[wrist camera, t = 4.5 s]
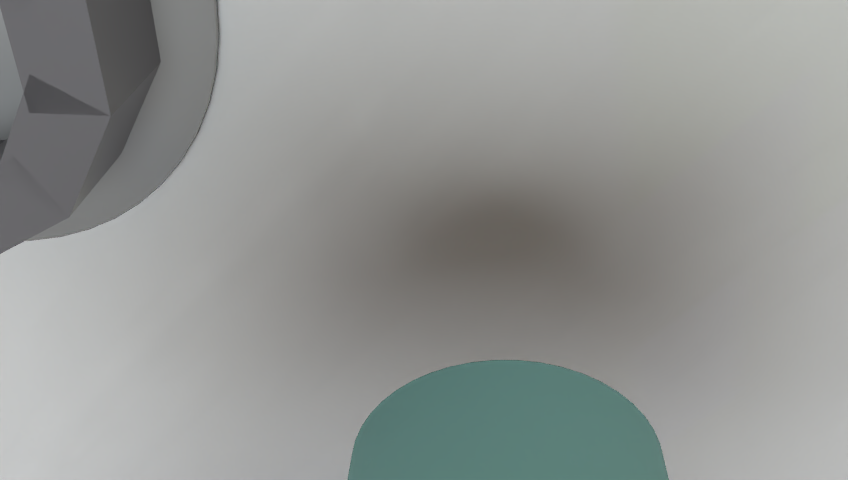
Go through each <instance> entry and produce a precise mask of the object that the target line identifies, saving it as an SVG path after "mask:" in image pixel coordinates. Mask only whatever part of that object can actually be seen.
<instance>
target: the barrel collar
mask: <svg viewBox="0 0 848 480" xmlns="http://www.w3.org/2000/svg"><path fill="white" fill-rule="evenodd" d="M218 41H219V30H218V14H217V0H0V254H1V253H2V252H4V251H6V250H8V249H10V248H12V247H14V246H16V245H18V244H20V243H22V242H23V241H32V240H40V239H47V238H55V237H62V236H66V235H70V234H73V233H77V232H81V231H85V230H89V229H91V228H94V227H96V226H98V225H101V224H103V223H105V222H108V221H110V220H113V219H115V218H117V217H118V216H120V215H122V214H123V213H125V212H126V211H128V210H130V209H131V208H133V207H135V206H136V205H138V204H139V203H141V202H142V201H143V200H144V199H145V198H146V197H148V196H149V195H150V194H151V193H152V192H153V191H155V190H156V189H157V188H158V187H159V186H160V185H161V184H162V183H163V182H164V181H165V179H166V178H167V177H168V176H169V175H170V173H171V172H172V171H173V170H174V169H175V167H176V166H177V165H178V164H179V163H180V161H181V160H182V158H183V157H184V155H185V153H186V151H187V150H188V148H189V146H190V145H191V143H192V141H193V140H194V138H195V136H196V134H197V133H198V131H199V128H200V125H201V123H202V120H203V118H204V115H205V113H206V110H207V108H208V105H209V102H210V97H211V93H212V88H213V84H214V79H215V75H216V69H217V55H218Z"/></svg>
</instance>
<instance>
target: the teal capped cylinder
mask: <svg viewBox="0 0 848 480" xmlns="http://www.w3.org/2000/svg"><path fill="white" fill-rule="evenodd" d="M348 480H669V479H668V475H667V470H666V466H665V462H664V458H663V454H662V450H661V446H660V443H659V440H658V438H657V436H656V434H655V431H654V429H653V428H652V426H651V425H650V423H649V422H648V420H647V419H646V417H645V416H644V415H643V414H642V413H641V412H640V411H639V410H638V409H637V407H636V406H635V405H634V404H633V403H632V402H630V401H629V400H628V399H626V398H625V397H624V396H623V395H621V394H620V393H619V392H617V391H616V390H614V389H612V388H611V387H609V386H607V385H606V384H604V383H602V382H600V381H598V380H596V379H594V378H591V377H589V376H587V375H585V374H582V373H579V372H576V371H573V370H570V369H567V368H564V367H560V366H555V365H550V364H545V363H540V362H530V361H521V360H491V361H480V362H471V363H466V364H461V365H456V366H451V367H448V368H445V369H441V370H438V371H435V372H432V373H429V374H427V375H425V376H422V377H420V378H418V379H416V380H413V381H411V382H410V383H408V384H406V385H405V386H403V387H401V388H399V389H398V390H396V391H395V392H393V393H392V394H391V395H390V396H388V397H387V398H386V399H385V400H383V401H382V402H381V403H380V404H379V405H378V406H377V407H376V408H375V409H374V410H373V412H372V413H371V414H370V415H369V416H368V418H367V419H366V421H365V422H364V424H363V425H362V427H361V429H360V431H359V433H358V436H357V438H356V440H355V444H354V448H353V452H352V457H351V463H350V469H349V474H348Z"/></svg>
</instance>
